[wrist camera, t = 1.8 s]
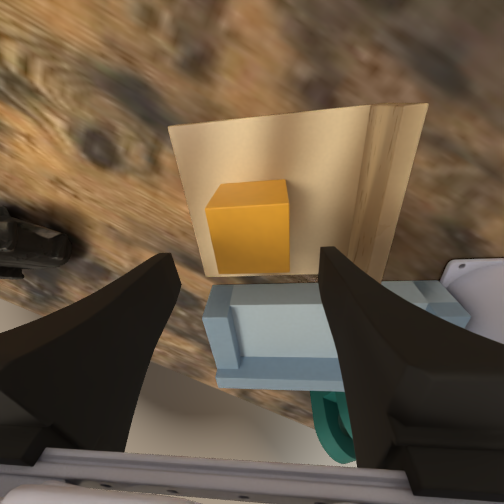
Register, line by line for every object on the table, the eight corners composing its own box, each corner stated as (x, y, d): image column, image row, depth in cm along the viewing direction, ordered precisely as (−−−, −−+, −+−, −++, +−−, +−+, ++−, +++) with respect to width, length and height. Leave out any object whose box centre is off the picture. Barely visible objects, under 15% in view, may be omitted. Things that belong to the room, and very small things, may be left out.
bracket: (309, 386, 34) (318, 455, 27) (342, 365, 30) (362, 438, 24) (395, 424, 38) (420, 492, 31) (433, 410, 35) (470, 482, 28)
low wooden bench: (372, 102, 15) (430, 102, 9) (348, 256, 21) (374, 309, 16) (180, 123, 16) (134, 133, 11) (211, 261, 23) (192, 311, 17)
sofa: (438, 279, 22) (481, 326, 17) (409, 345, 27) (437, 395, 23) (212, 284, 25) (198, 326, 20) (226, 344, 30) (218, 388, 25)
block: (285, 178, 16) (289, 203, 12) (286, 237, 18) (290, 273, 14) (220, 183, 16) (203, 208, 12) (229, 239, 18) (218, 275, 15)
